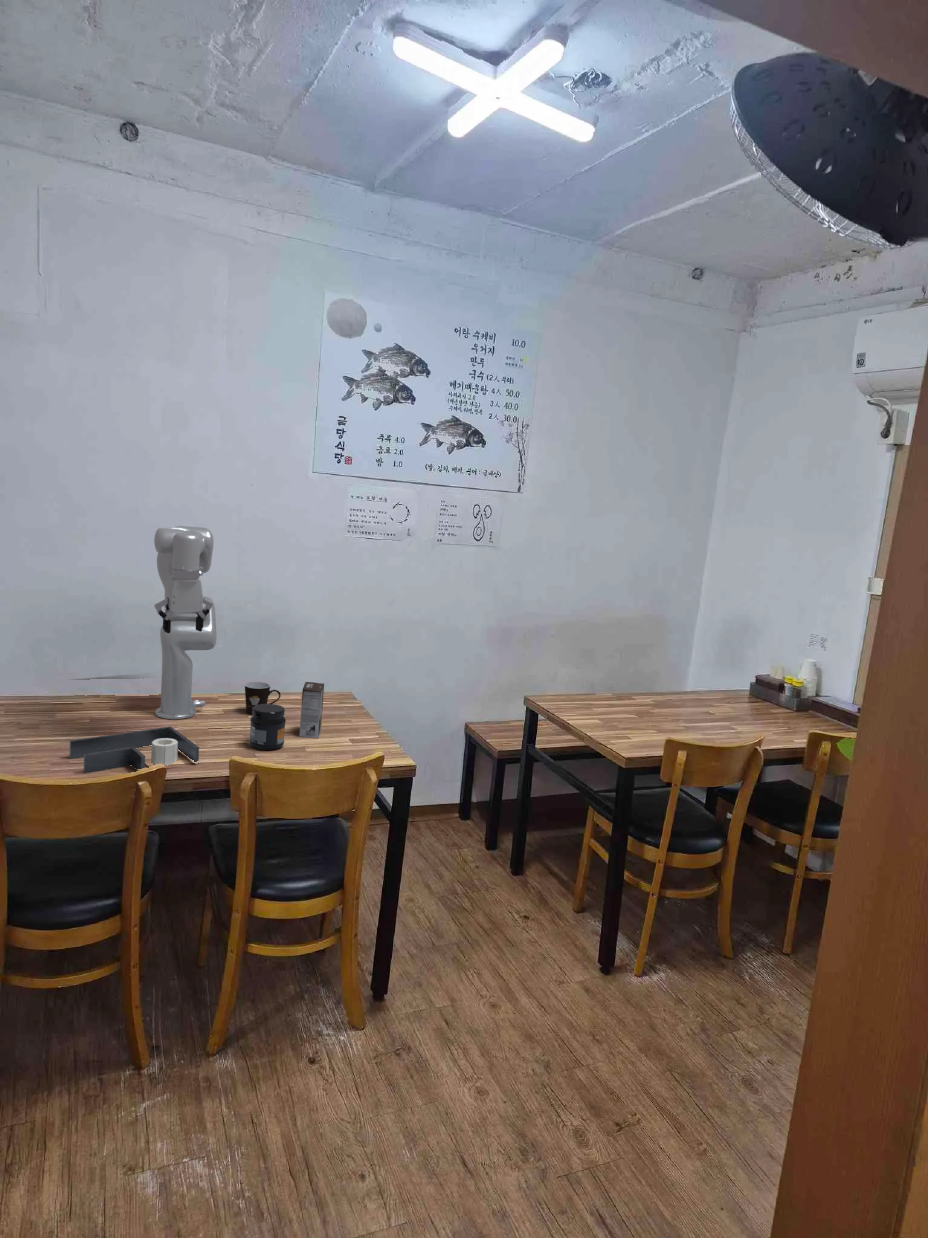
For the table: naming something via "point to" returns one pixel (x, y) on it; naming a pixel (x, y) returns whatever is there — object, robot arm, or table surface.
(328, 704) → the table surface
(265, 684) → the coffee mug
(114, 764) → the rail course
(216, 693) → the table surface
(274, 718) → the supplement container
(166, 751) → the cream ring
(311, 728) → the coffee box
